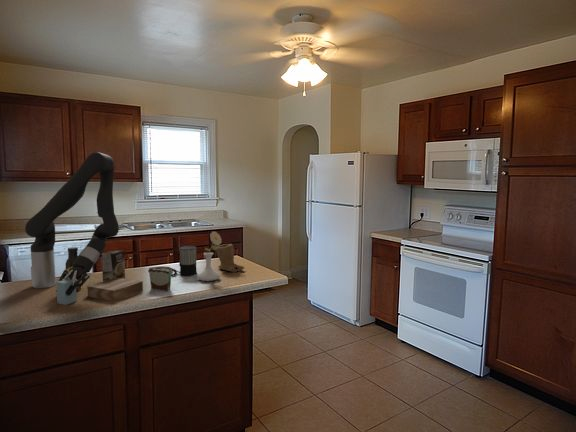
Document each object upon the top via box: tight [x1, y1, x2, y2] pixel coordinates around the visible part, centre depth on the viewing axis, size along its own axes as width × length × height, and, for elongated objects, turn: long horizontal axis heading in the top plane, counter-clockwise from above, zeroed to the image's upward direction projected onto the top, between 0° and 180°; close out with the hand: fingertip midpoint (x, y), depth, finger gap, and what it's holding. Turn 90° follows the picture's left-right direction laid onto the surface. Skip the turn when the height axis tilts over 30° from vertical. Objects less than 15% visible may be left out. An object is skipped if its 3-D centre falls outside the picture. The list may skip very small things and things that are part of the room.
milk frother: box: [170, 245, 198, 277], centre depth 202 cm, size 14×16×15 cm
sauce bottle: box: [64, 246, 82, 292], centre depth 174 cm, size 7×6×20 cm
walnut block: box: [86, 278, 144, 302], centre depth 169 cm, size 16×16×5 cm
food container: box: [147, 266, 174, 292], centre depth 177 cm, size 12×6×10 cm, turn 71°
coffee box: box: [101, 249, 126, 282], centre depth 184 cm, size 9×6×16 cm
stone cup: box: [215, 243, 245, 273], centre depth 213 cm, size 15×12×15 cm
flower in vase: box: [196, 231, 223, 282], centre depth 193 cm, size 13×11×25 cm
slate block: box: [55, 279, 78, 306], centre depth 157 cm, size 5×5×9 cm
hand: (62, 293), depth 155 cm, fingers closed on slate block, 5 cm apart
